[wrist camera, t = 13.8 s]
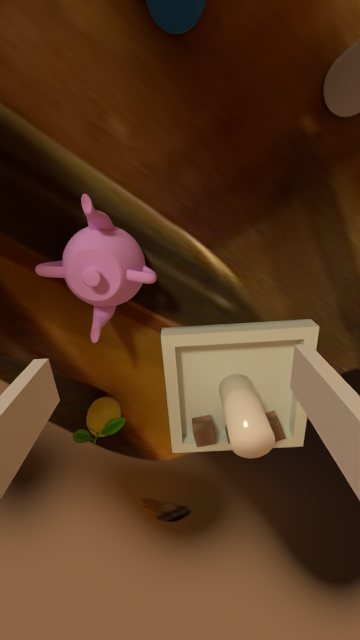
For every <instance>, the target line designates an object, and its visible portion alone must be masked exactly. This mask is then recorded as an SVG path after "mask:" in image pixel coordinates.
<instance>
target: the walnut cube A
mask: <svg viewBox="0 0 360 640" xmlns="http://www.w3.org/2000/svg"><path fill="white" fill-rule="evenodd" d="M192 429H193V435H194V439H195V442H196V445H197V447H202V446H207V445H213V444H216V438H215V431H214V427H213V423H212V419H211V415H206V416H201V417H196V418H192Z"/></svg>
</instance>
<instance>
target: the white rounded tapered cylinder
mask: <svg viewBox="0 0 360 640" xmlns="http://www.w3.org/2000/svg"><path fill="white" fill-rule="evenodd" d="M219 394H220V399H221V403H222V408H223V412H224V417H225V422H226V426H227V431H228V435H229V440H230V444H231V448H232V450H233V451H234V452H235V453H236V454H237V455H239V456H241V457H244V458H257V457H260V456H263V455H265V454H267V453H268V452H269V451H270V450H271V449H272V448H273V446H274V444H275V436H274V433H273V431H272V428H271V426H270V424H269V421H268V419H267V417H266V414H265V412H264V410H263V407H262V405H261V402H260V400H259V398H258V395H257V393H256V391H255V388H254V386H253V384H252V381H251V380H250V379H249V378H248V377H247V376H245V375H243V374H231V375H229V376H227V377H225V378H224V379H223V380H222V381H221V383H220V385H219Z"/></svg>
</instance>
